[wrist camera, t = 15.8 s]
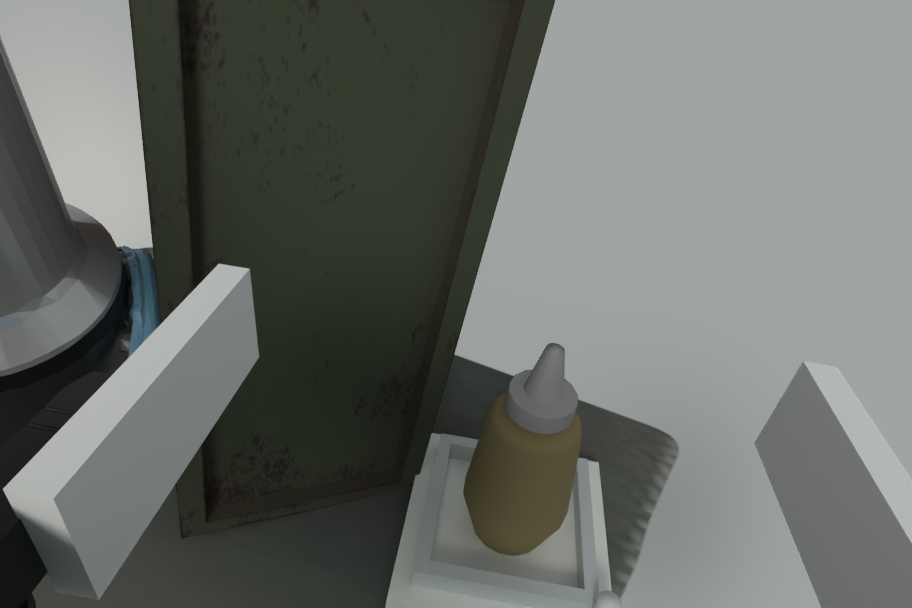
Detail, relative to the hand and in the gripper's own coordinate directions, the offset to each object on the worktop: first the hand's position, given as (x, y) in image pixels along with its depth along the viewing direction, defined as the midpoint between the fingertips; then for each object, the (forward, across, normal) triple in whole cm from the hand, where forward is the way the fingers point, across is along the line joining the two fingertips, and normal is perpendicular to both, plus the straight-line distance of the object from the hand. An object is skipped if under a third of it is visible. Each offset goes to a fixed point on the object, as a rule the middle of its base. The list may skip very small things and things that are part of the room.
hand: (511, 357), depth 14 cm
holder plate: (+18, +4, -32) cm, 37 cm away
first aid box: (+24, -16, -31) cm, 43 cm away
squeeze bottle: (+18, +4, -31) cm, 36 cm away
